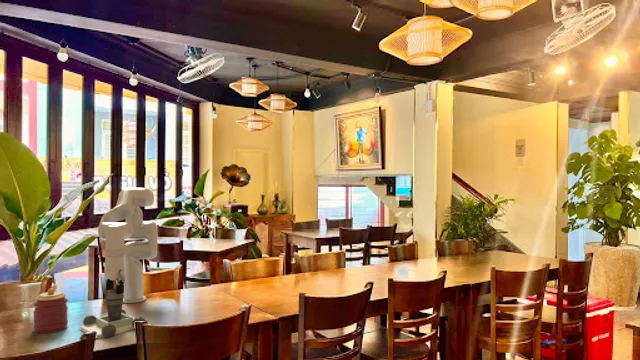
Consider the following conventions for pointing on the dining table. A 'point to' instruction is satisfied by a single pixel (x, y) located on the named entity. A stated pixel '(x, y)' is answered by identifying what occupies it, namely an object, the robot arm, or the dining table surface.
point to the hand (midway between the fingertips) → (114, 291)
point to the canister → (50, 312)
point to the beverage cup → (114, 305)
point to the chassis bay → (109, 324)
